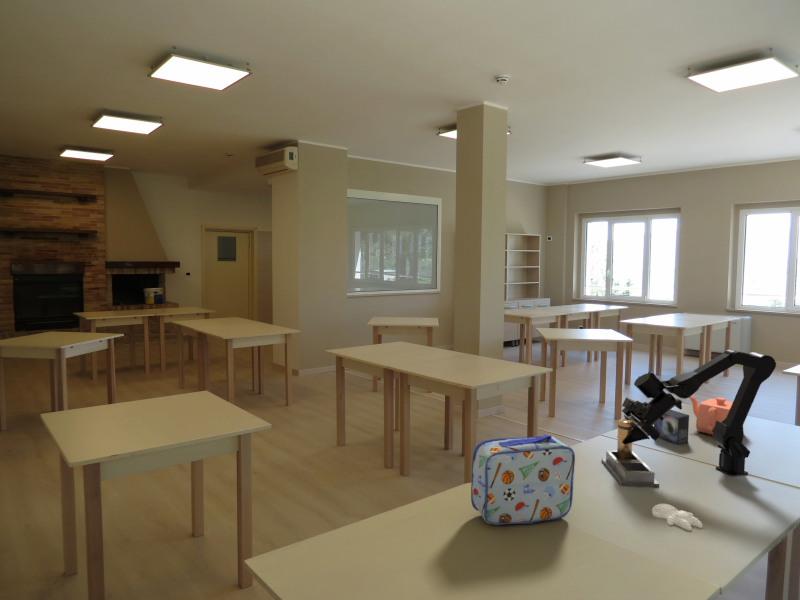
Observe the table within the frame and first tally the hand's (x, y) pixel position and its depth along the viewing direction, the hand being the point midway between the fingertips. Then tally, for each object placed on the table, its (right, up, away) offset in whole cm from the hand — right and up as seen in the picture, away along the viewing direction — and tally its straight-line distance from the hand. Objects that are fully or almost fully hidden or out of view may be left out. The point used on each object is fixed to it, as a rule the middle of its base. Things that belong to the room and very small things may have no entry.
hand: (620, 440), depth 169 cm
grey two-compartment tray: (+1, -9, -4) cm, 10 cm away
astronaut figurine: (+1, -12, -33) cm, 35 cm away
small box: (+31, -7, +28) cm, 42 cm away
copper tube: (+1, -7, 0) cm, 7 cm away
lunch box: (-39, -12, -32) cm, 52 cm away
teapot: (+52, -6, +38) cm, 64 cm away
